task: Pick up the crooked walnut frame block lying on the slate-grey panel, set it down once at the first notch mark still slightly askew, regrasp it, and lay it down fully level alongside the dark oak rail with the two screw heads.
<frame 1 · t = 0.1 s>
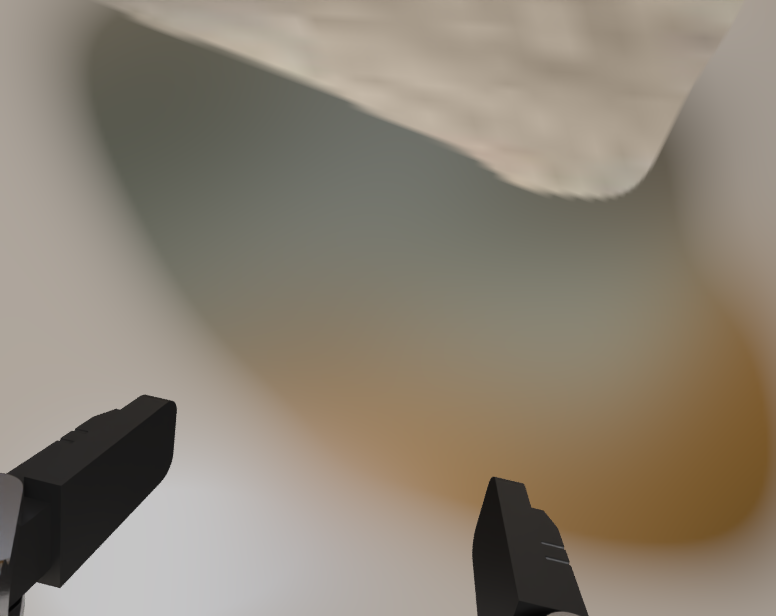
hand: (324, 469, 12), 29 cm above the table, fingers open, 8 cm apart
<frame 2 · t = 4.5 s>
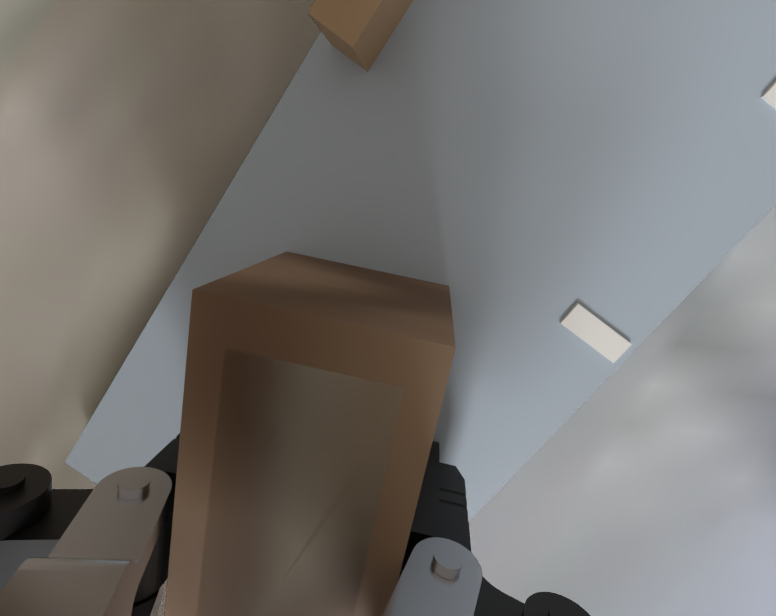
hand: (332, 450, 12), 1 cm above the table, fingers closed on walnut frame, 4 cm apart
walnut frame: (333, 449, 13), point 1 cm above the table, touching gripper, wall panel
wall panel: (457, 226, 12), on the table
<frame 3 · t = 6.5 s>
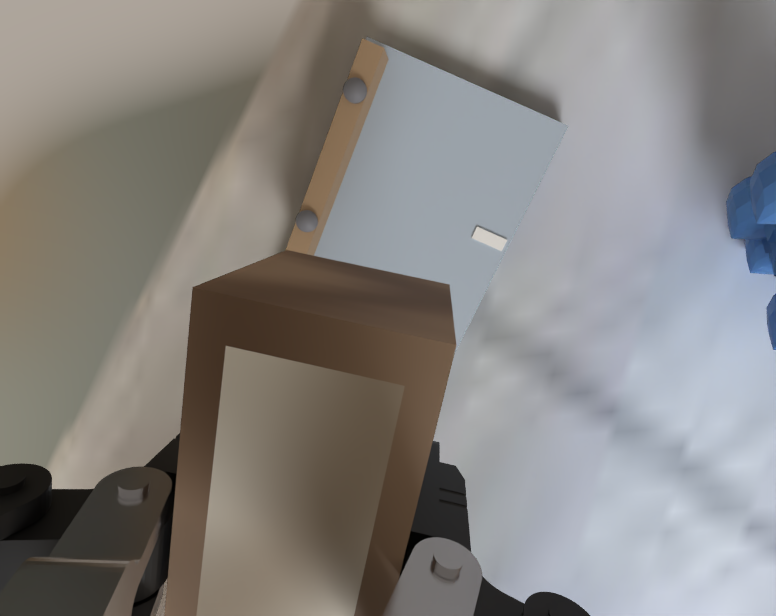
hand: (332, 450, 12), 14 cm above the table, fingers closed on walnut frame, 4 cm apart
walnut frame: (334, 448, 13), point 14 cm above the table, touching gripper
wall panel: (370, 308, 26), on the table
grapes: (744, 259, 23), on the table
when the fingers open (3 cm above the table, at t = 8.7 s): walnut frame drops 1 cm, resting on wall panel.
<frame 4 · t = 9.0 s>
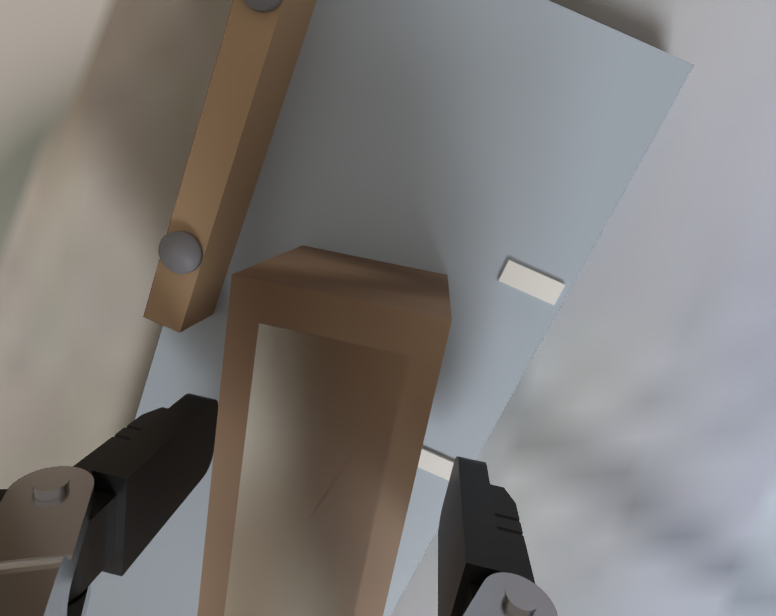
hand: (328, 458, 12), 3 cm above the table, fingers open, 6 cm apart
walnut frame: (344, 424, 14), point 1 cm above the table, touching wall panel
wall panel: (322, 392, 15), on the table
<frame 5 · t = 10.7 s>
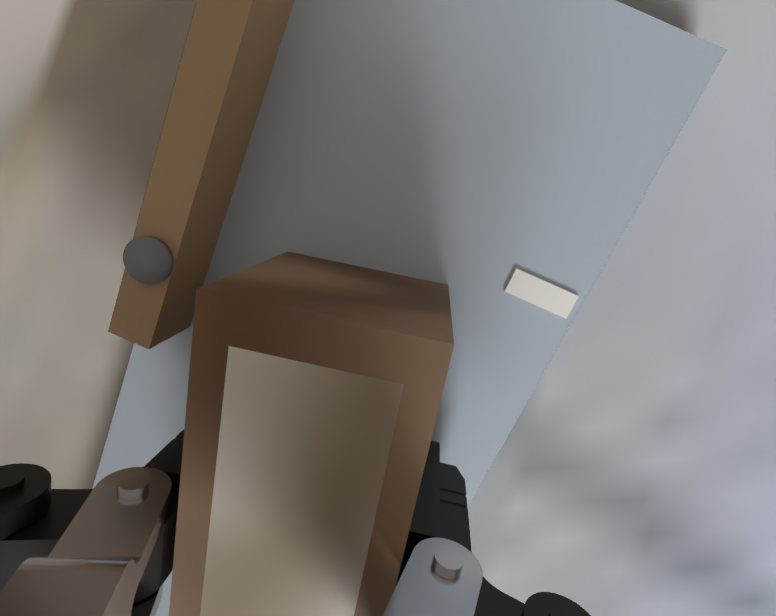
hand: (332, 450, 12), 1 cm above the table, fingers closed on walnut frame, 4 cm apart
walnut frame: (334, 446, 13), point 1 cm above the table, touching gripper, wall panel
wall panel: (311, 410, 14), on the table
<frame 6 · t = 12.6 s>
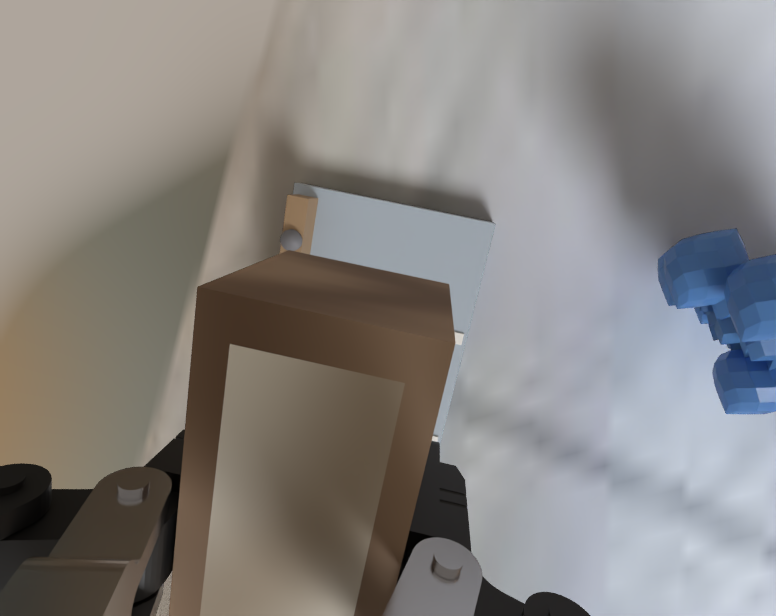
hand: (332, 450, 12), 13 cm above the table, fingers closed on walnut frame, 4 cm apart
walnut frame: (335, 445, 13), point 13 cm above the table, touching gripper
wall panel: (355, 411, 27), on the table
grapes: (696, 304, 24), on the table
when the fingers open (3 cm above the table, at t = 14.8 s): walnut frame drops 1 cm, resting on wall panel.
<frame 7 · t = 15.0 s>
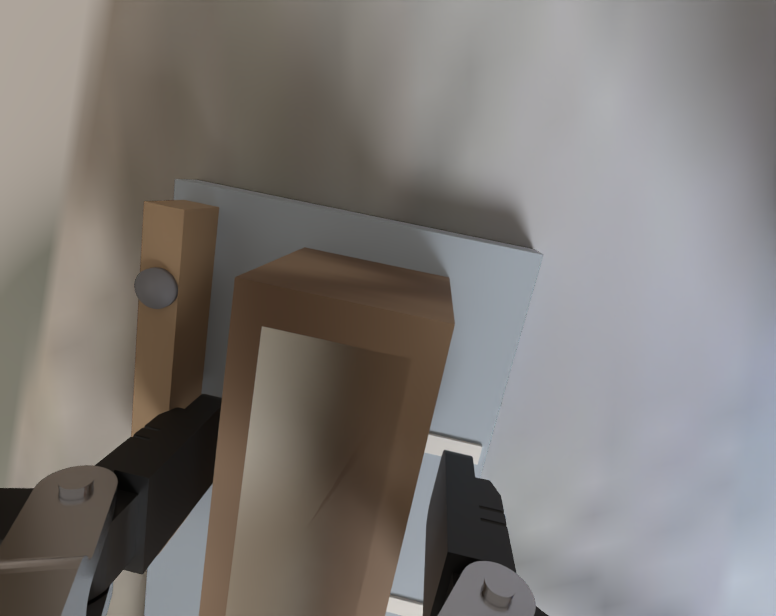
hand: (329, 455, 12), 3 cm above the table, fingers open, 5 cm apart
walnut frame: (345, 425, 14), point 1 cm above the table, touching wall panel
wall panel: (302, 550, 17), on the table
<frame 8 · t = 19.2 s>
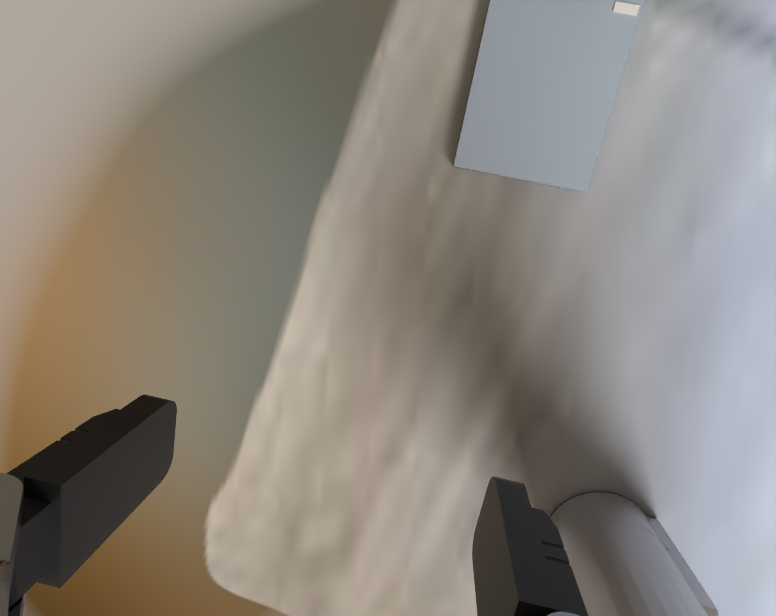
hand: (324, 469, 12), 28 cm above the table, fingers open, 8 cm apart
wall panel: (562, 5, 33), on the table
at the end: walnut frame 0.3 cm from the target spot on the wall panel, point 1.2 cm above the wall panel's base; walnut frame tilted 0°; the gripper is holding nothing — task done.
